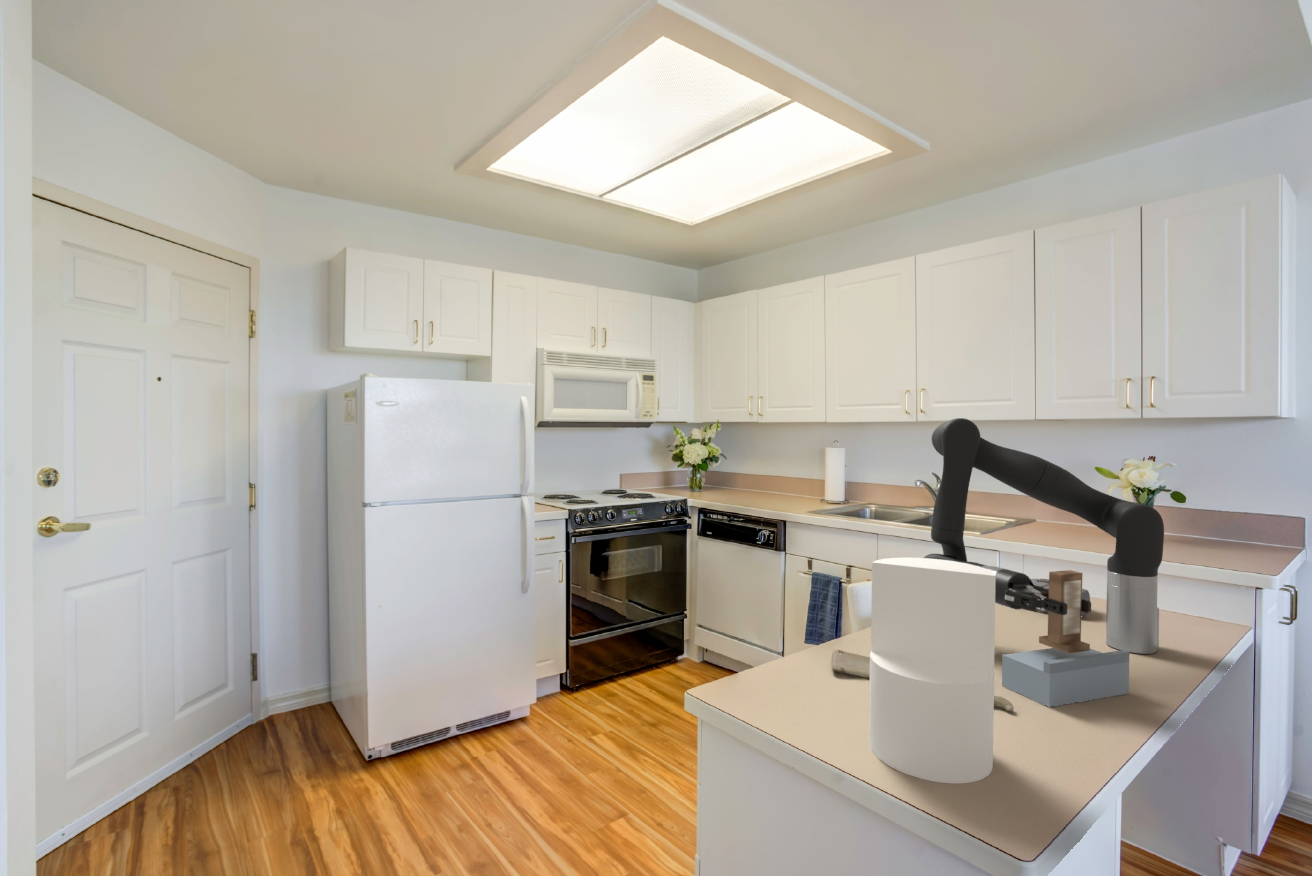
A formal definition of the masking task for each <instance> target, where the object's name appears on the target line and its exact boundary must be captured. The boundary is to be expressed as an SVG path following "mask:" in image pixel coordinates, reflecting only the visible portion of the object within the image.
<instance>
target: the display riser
mask: <svg viewBox="0 0 1312 876" xmlns="http://www.w3.org/2000/svg"><path fill="white" fill-rule="evenodd" d="M1001 656H1002V659H1001V664H1002V665H1001V667H1002V668H1001V686H1002V685H1003V686H1005V687H1004V688H1006V687H1007V688H1006V689H1008V688H1009V689H1008V690H1010V689H1011V691H1012V690H1014V691H1015V693H1017V692H1018V693H1017V694H1019V693H1020V694H1019V695H1021V694H1023V695H1025V696H1027V697H1030V698H1031V699H1030V698H1029V699H1030V700H1032V699H1034V700H1035V701H1034V700H1033V701H1034V702H1036V701H1037V702H1036V703H1038V702H1040V703H1042V704H1041V705H1043V704H1044V705H1043V706H1045V705H1046V706H1045V707H1047V706H1048V708H1049V707H1050V708H1055V707H1061V706H1064V705H1063V704H1067V705H1071V704H1070V703H1072V704H1076V703H1075V702H1078V703H1082V702H1081V701H1084V702H1088V700H1089V701H1093V699H1095V700H1099V699H1100V698H1101V699H1104V698H1103V697H1106V698H1110V697H1116V696H1115V695H1118V696H1122V695H1129V694H1130V693H1129V692H1130V691H1129V690H1130V687H1129V686H1130V652H1127V651H1124V650H1115V651H1107V652H1102V651H1099V650H1095V649H1092V648H1090V651H1082V652H1075V653H1066V652H1063V651H1060V650H1057V649H1055V648H1052V647H1049V648H1043V649H1036V650H1034V649H1033V650H1030V651H1029V650H1028V651H1021V652H1015V653H1007V654H1002V655H1001ZM1003 686H1002V687H1003ZM1014 691H1013V692H1014ZM1023 695H1022V696H1023ZM1025 696H1024V697H1025ZM1027 697H1026V698H1027ZM1040 703H1039V704H1040ZM1060 705H1061V706H1060ZM1052 706H1053V707H1052ZM1054 706H1055V707H1054Z"/></svg>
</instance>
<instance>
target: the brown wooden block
mask: <svg viewBox="0 0 1312 876" xmlns="http://www.w3.org/2000/svg"><path fill="white" fill-rule="evenodd" d="M1083 574H1084V573H1083V572H1081V571H1075V570H1072V569H1070V570H1057V571H1056V570H1055V571H1049V573H1048V580H1049V599H1053V600H1056V601H1060V602H1064V603H1066V604H1067V614H1066V615H1060V614H1057V613H1054V612H1051V611H1048V614H1047V635H1040V636H1038V643H1039V644H1042V645H1044V646H1046V647H1049V648H1055V649H1057V650H1060V651H1063V652H1066V653H1075V652H1082V651H1090V649H1091V644H1090V643H1088V642H1084V641H1082V617H1081V602H1082V589H1083Z"/></svg>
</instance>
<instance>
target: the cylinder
mask: <svg viewBox="0 0 1312 876" xmlns="http://www.w3.org/2000/svg"><path fill="white" fill-rule="evenodd" d="M995 582H996V576H995V574H994V573H993V572H992V571H990V570H988V569H985V568H982V567H979V566H975V565H971V564H967V563H961V562H955V561H948V560H940V559H929V558H924V557H889V558H881V559H877V560H874V561H872V562H871V613H870V614H871V617H870V618H871V619H870V620H871V621H870V622H871V623H870V624H871V625H870V626H871V627H870V629H871V631H870V654H869V657H870V678H869V693H868V694H869V699H868V701H869V706H868V716H869V717H868V745H869V748H870V750H871V753H872V754H874V755H875V757H877V758H878V759H879V760H880V761H881V762H882V763H884V764H886V765H887V766H889V767H891V768H893V769H894V770H897V771H899V772H901V773H903V774H905V775H908V776H912V777H914V778H918V779H921V780H925V781H930V782H935V783H943V784H969V783H975V782H977V781H981V780H983V779H986V778H987V777H988V776H989V775H991V773H992V771H993V768H994V710H995V706H994V696H995V693H994V692H995V647H996V646H995V643H996V642H995V641H996V639H995V634H996V603H995Z"/></svg>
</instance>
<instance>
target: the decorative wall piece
mask: <svg viewBox="0 0 1312 876" xmlns="http://www.w3.org/2000/svg"><path fill="white" fill-rule="evenodd" d="M831 670H833V671H834V672H838V673H842V674H846V675H851V676H856V677H861V678H866V679H870V656H865V655H861V654H856V653H853V652H852V653H851V652H848V651H844V650H841V649H834V650H833V651H832V654H831ZM994 707H998V708H1002V709H1005V710H1006V711H1008V712H1012V711H1014V705H1013V704H1012V703H1011V702H1010V700H1008V699H1006V698H1004V697H1003V696H998V695H994Z"/></svg>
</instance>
